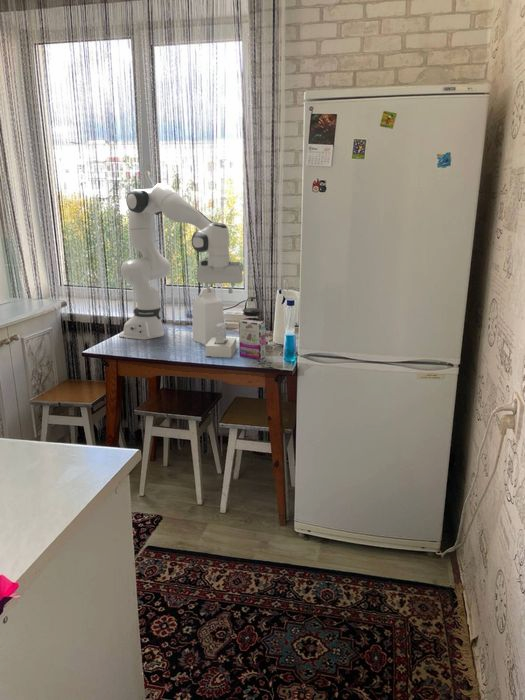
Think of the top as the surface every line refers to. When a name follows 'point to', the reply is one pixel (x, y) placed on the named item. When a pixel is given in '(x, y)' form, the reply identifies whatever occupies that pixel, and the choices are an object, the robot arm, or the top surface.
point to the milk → (206, 316)
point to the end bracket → (221, 333)
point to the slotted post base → (221, 348)
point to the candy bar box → (252, 339)
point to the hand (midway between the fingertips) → (220, 292)
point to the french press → (252, 311)
